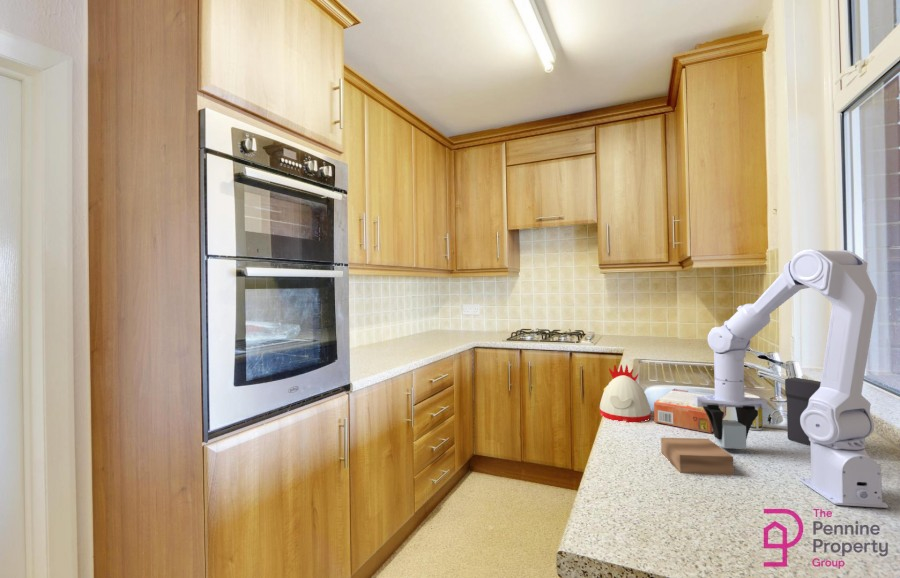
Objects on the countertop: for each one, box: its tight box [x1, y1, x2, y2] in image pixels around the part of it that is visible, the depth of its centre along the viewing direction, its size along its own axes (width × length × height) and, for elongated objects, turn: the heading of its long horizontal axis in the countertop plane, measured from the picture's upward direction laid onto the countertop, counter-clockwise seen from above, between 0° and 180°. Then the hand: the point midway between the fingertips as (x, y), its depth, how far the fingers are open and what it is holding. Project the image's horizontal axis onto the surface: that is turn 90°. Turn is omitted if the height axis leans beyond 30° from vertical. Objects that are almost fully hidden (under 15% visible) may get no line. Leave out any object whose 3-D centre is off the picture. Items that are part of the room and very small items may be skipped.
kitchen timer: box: [599, 364, 652, 423], centre depth 123 cm, size 14×14×15 cm
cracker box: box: [653, 388, 727, 434], centre depth 118 cm, size 14×6×21 cm
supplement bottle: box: [744, 394, 764, 431], centre depth 110 cm, size 5×5×8 cm
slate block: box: [714, 419, 747, 450], centre depth 96 cm, size 4×4×5 cm
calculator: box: [784, 377, 821, 447], centre depth 97 cm, size 11×4×15 cm, turn 22°
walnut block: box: [660, 437, 734, 476], centre depth 88 cm, size 10×10×4 cm
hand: (730, 438), depth 95 cm, fingers closed on slate block, 4 cm apart
